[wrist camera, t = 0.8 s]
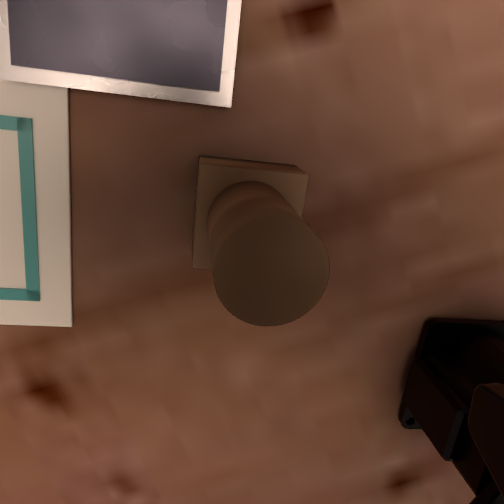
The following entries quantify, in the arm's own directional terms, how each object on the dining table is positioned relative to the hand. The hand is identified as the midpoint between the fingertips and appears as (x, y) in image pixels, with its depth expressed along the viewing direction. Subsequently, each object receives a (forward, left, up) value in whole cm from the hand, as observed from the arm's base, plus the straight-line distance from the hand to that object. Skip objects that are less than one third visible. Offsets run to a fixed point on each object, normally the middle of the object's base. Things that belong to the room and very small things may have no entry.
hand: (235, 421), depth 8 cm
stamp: (-1, -1, -12) cm, 12 cm away
